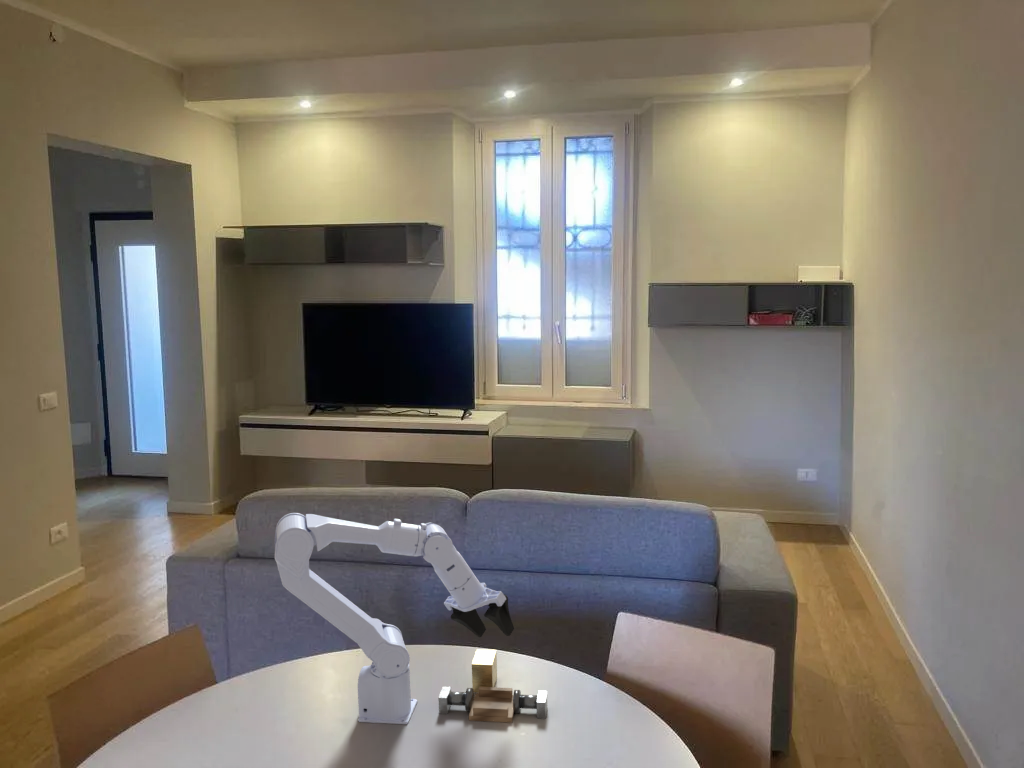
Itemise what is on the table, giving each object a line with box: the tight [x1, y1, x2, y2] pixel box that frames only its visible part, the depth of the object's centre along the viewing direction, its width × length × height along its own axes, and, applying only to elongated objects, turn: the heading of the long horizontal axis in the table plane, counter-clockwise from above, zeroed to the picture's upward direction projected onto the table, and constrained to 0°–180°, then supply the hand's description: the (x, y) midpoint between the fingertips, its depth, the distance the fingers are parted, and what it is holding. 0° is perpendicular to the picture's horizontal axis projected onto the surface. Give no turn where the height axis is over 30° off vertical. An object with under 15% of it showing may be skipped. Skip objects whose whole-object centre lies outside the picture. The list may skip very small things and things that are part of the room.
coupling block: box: [471, 648, 498, 694], centre depth 159 cm, size 6×4×6 cm, turn 173°
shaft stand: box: [438, 686, 548, 724], centre depth 150 cm, size 20×8×4 cm, turn 83°
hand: (496, 632), depth 155 cm, fingers open, 7 cm apart
